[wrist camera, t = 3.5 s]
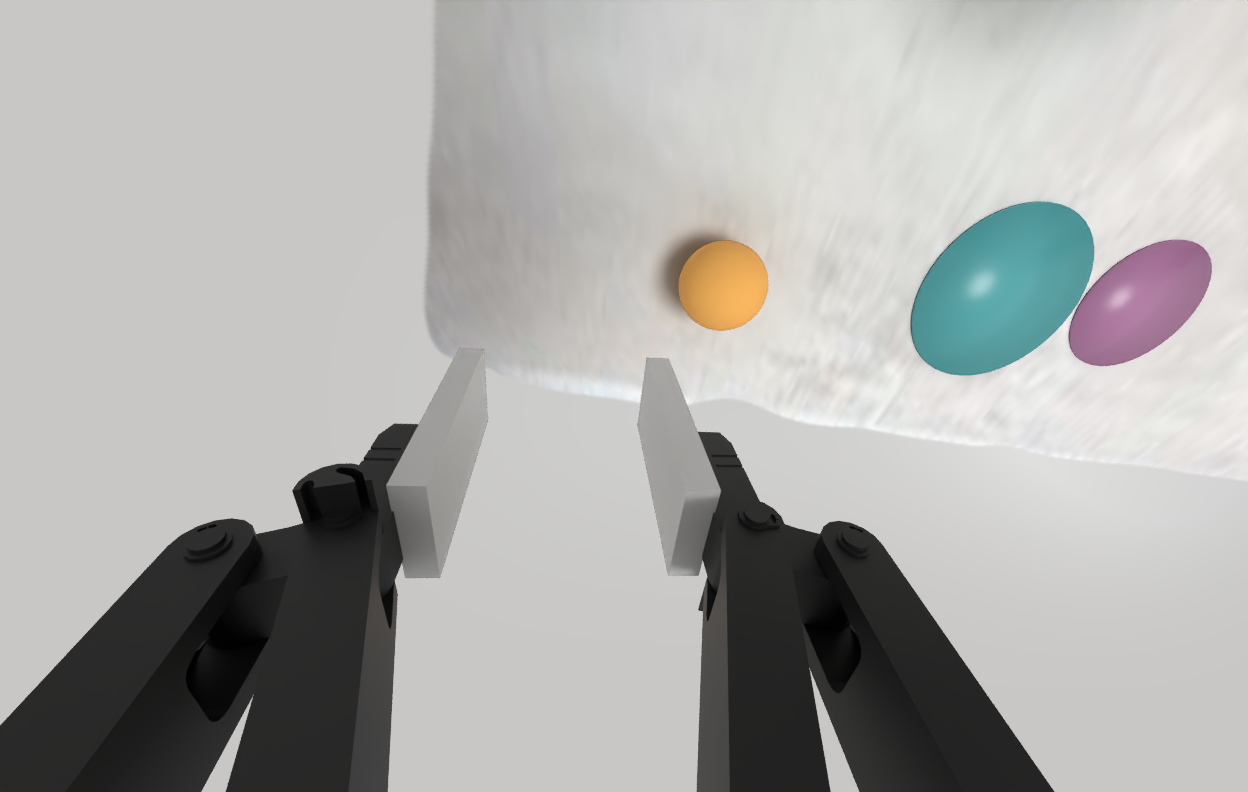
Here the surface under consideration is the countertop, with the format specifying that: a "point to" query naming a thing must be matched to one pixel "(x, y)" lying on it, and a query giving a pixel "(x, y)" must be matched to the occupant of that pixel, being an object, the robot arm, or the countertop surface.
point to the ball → (723, 285)
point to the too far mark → (1140, 302)
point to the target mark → (1002, 288)
